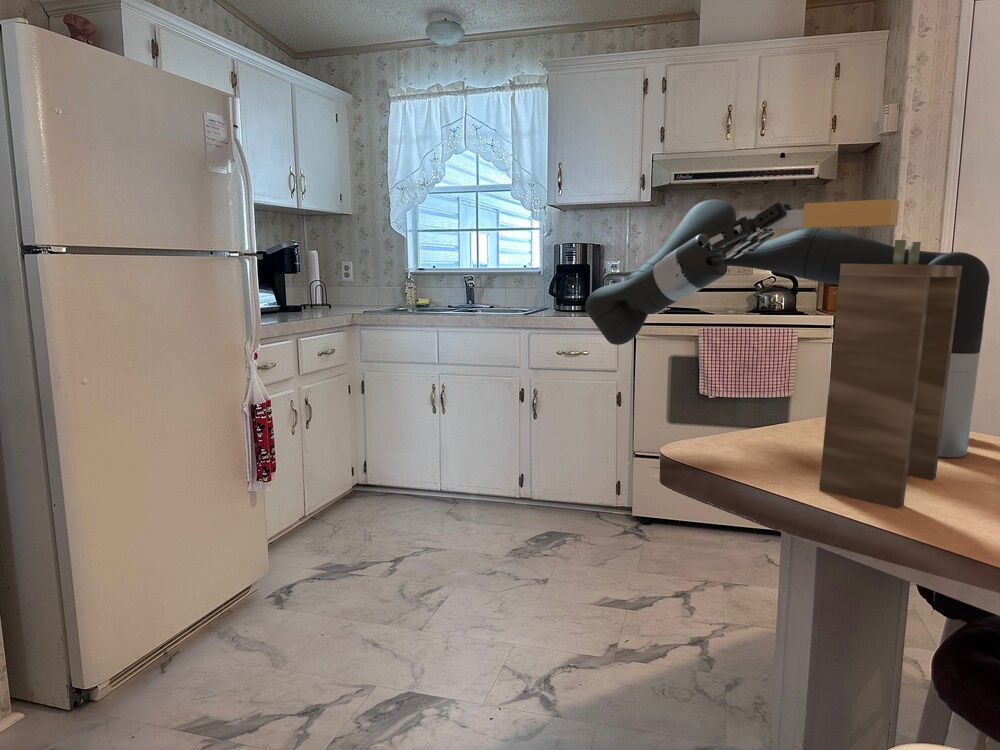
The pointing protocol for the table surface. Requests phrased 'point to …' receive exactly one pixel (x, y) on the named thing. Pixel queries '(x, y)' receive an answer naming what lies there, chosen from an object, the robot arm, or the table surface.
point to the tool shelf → (888, 376)
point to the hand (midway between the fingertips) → (787, 208)
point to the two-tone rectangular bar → (838, 215)
